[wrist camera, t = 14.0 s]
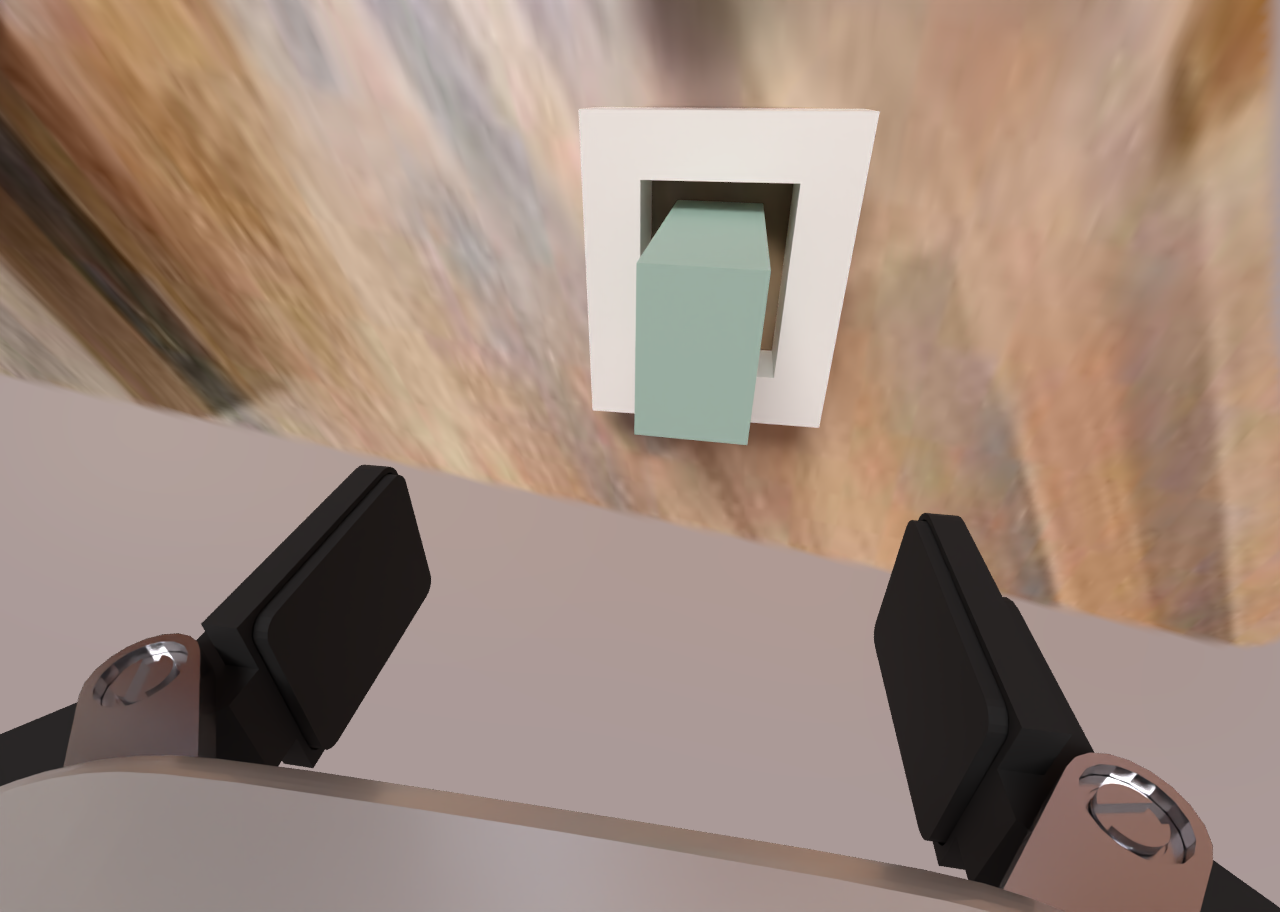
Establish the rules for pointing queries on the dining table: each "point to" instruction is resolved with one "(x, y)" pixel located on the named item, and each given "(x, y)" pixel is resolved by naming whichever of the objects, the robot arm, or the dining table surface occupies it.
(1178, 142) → the dining table surface
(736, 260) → the peg
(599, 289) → the socket block
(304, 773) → the robot arm
